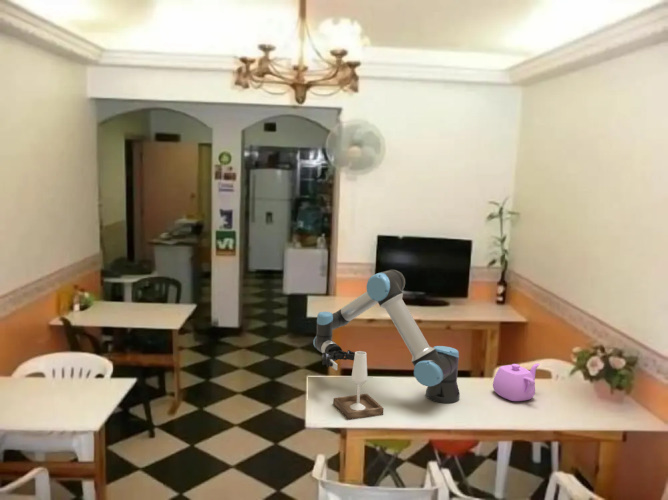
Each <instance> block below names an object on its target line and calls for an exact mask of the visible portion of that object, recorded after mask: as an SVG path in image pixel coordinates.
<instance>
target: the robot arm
mask: <svg viewBox="0 0 668 500" xmlns="http://www.w3.org/2000/svg"><path fill="white" fill-rule="evenodd" d="M405 285H406V278H405V276H404V275H403V273H402V272H400V271H399V270H396V269H389V270H385V271H381V272H378V273H375V274H373V275H372V276H371V277H369V278H368V280H367V282H366V287H365V288H366V291H365V292H364V293H362V294H361V295H360V296H358V297H357V298H355V299H353V300H351V302H349V303H347V304H346V305H344V306H343V307H342V308H339V310H337V311H336V312H333V313H332V312H330V311H320V312H318V313H317V317H316V336H315V337H314V339H313V343H312V344H313V346H314V348H315V349H316V350H317V351H319V352H320V353H321V354H322V366H325V365H326V367H327V368H329V367H331V368H332V369H333V370H334V371H338V363H337V362H335V361H338V360H344V361H347V360H350V361H354V357H355V352H356V351H353V350H352V351H351V350H349V349H348V350H347V351H344V350H343V349H342V347H341V346H339V344H337V343H336V342H334V341H333V330H336V329H339V328H341V327H344V326H346V325H348V324H350V322H351V321H352V320H354V319H355V318H357V317H359V316H360V315H362V314H364V313H365V312H366V311H368V310H369V309H371V308H372V307H374V306H375V305H377V304H378V305H379V307H380V308H382V309H385V311H386V312H387V314H388V316H389V318H390V319H391V321H392V322H393V325H394V326H395V328H396V329H397V332H398V333H399V335H400V336H401V338H402V340H403V342H404V344H405V346H406V347H407V349H408V350H409V352H410V354H411V357H412V358H411V364H412V365H413V366H414V367H413V376H414V378H415V379H416V381H417V382H418V383H419V384H420V385H422V386H424V387H426V389H425V390H426V391H425V396H426V398H427V399H429V400H431V401H432V402H436V403H441V404H453V403H457V402H458V401H459V400H460V396H461V395H460V389H459V385H458V381H457V380H458V371H459V370H458V369H459V359H460V354H459V353H460V352H459V350H458V349H456V348H454V347H451V346H444V345H436V346H435V345H434V346H433V347H432V346H430V345H429V343H428V341H427V339H426V338H425V336H424V334H423V331H421V329H420V327H419V325H418V324H417V321H415V318H414V317H413V315H412V313H411V311H410V310H409V307H408V306H407V305H406V303H405V302H404V300H403V297H404V292H403V290H404V288H405Z"/></svg>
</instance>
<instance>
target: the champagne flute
mask: <svg viewBox="0 0 668 500" xmlns="http://www.w3.org/2000/svg"><path fill="white" fill-rule="evenodd" d="M354 352H355V357H354V360H353V364H352V372H351V380H352V382H353V383H354V384H355V385H356V386H357V388H356V389H357V390H356V392H357V393H356V395H357V403H355V404H353V405H351V406H350V408H351V409H353V410H364V409H365V408H366V407H365V406H364V405H362V404H360V403H359V401H360V394H361V386H362V385H364V384H365V383H366V382H367V381H368V362H367V361H368V360H367V352H366V351H363V350H362V351H361V350H359V351H354Z"/></svg>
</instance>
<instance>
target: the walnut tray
mask: <svg viewBox="0 0 668 500" xmlns="http://www.w3.org/2000/svg"><path fill="white" fill-rule="evenodd" d="M332 401H333V404H332V405H333V406H334V407H335V408H336V409H337V410H338V411H339V412H340V413H341V414H342V415H343V416H344V417H345V418H346V419H347V421H350V420H358V419H365V418H372V417H376V416H377V417H378V416H383V415H384V407H383V406H382V405H381V404H380V403H378V402H377V401H376V400H375V399H374V398H373V397H371V396H370V395H369V394H368V393H360V401H359V403H360V404H362V405H364V406H365V407H366V408H365V409H364V410H353V409H351V408H350V406H351V405H353V404H355V403H357V394H354V395H347V396H338V397H333V400H332Z"/></svg>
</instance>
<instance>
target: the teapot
mask: <svg viewBox="0 0 668 500" xmlns="http://www.w3.org/2000/svg"><path fill="white" fill-rule="evenodd" d="M539 366H540V363H535V364H533V365H532V367H531V368H530V370H528V369H527V368H526V367H524V366H521V365H520V364H518V363H512V364H507V365H502V366H499V368H498V370H497V372H496V373H495V374H494V378H493V382H492V388H493V390H494V393H496V394H497V395H498V396H500V397H502V398H503V399H506V400H509V401H510V402H522V401H528V400H531V399H533V397H535V394H536V381H535V380H536V371H537V368H538V367H539Z"/></svg>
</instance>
